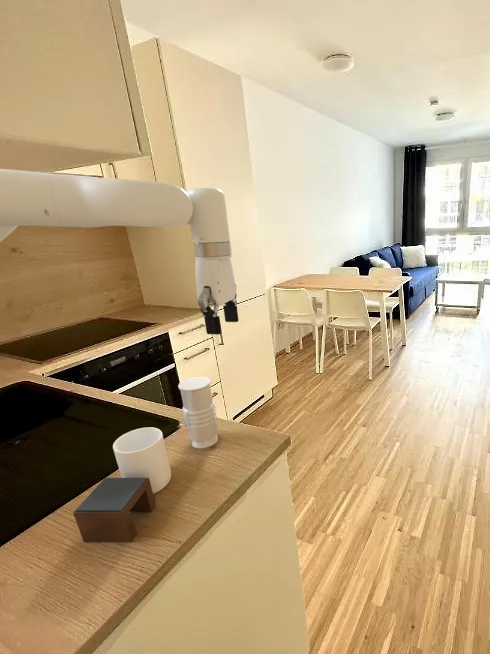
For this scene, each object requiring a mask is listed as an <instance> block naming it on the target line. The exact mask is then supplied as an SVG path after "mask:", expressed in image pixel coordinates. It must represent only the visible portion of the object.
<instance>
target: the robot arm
mask: <svg viewBox="0 0 490 654" xmlns="http://www.w3.org/2000/svg"><path fill="white" fill-rule="evenodd" d="M185 225H189V226H190V233H191V237H192V238H191V239H192V244H193V251H194V257H195V265H194V266H195V269H194V270H195V283H196V285H195V286H196V294H197V304H198V306H199V308H200V309H199V310H200V312H201V313H202V317H203V319H204V325H205V332H206V334H207V335H216V336H217V335H219V336H220V335H222V325H221V317H220V315H218V314H219V309H220V307H221V306H223V307H222V308H223V316H224V321H225V322H226V323H237V322H238V323H239V313H238V306H237V305H238V301H237V297H238V294H237V284H236V281H235V275H234V269H233V265H232V261H231V259H232V258H233V253H232V246H231V245H232V244H231V235H230V229H229V228H230V227H229V221H228V213H227V203H226V197H225V193H224V192H223V190H221V189H220V188H216V187H202V186H201V187H192V188H188V189H187V190H185V189H183V188H182V187H180V186H179V185H176V184H173V183H171V182H162V181H150V180H139V179H125V178H111V177H97V176H91V175H81V174H80V175H77V174H67V173H66V174H65V173H54V172H53V173H52V172H43V171H30V170H20V169H8V168H0V243H1V242H3V241H4V240H5V239H6V238H7V237H8V236H10V235H11V234H13V232H14V231H15V230H16V229H17V228H18V227H19V226H21V227H22V226H25V227H26V226H27V227H58V228H59V227H61V228H91V229H92V228H102V227H113V226H114V227H147V228H148V227H149V228H150V227H151V228H153V227H154V228H171V229H172V228H174V229H175V228H181V227H183V226H185Z"/></svg>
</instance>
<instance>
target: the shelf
mask: <svg viewBox="0 0 490 654" xmlns="http://www.w3.org/2000/svg"><path fill="white" fill-rule="evenodd" d="M154 495H155V494H153V491H152V488H151V484H150V480H149V478H122V477H104V478H103V480H101V481H100V482H99V484H98V485H97V486H96V487H95V488H94V489H93V490H92V491H91V492H90V493H89V494H88V496H87V497H86V498H85V499H84V500H83V501H82V502H81V503H80V504H79V505H78V506H77V507H76V508H75V510H74V511H72V514H73V517H74V519H75V523H76V526H77V527H78V530H79V533H80V536H81V539H82V541H83V543H132V542H133V541H134V539H135V538H136V536H137V534H138V533H137V530H136V526H135V523H134V520H133V516H132V513H133V512H134V513H136V512H137V513H138V512H139V513H141V512H143V513H145V512H146V513H148V512H149V513H151V512H153V510H154V509H155V508H156V506H157V502H156V500H155V496H154ZM131 512H132V513H131Z"/></svg>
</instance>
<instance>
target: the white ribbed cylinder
mask: <svg viewBox="0 0 490 654" xmlns="http://www.w3.org/2000/svg"><path fill="white" fill-rule="evenodd" d="M211 384H212V380H211V378H210V377H207V376H194V377H189V378H186V379H184V380H182V381H180V382H179V383H178V385H177V387H178V390H179V391H180V395H181V396H180V397H181V400H182V401H181V402H182V405H183V406H182V408H181V409H182V415H183V419H184V420H183V421H184V425H185V427H186V429H187V438H188V439H189V440H190V441H191V446H192V447H193V448H196V449H206V448H209V447H212V446H213V445H215V444H216V443H217V442H218V440H219V437H218V433H219V432H220V429H219V426H218V422H217V418H218V416H217V410H216V403H215V400H214V399H213V393H212V387H211Z"/></svg>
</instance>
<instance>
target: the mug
mask: <svg viewBox="0 0 490 654" xmlns="http://www.w3.org/2000/svg"><path fill="white" fill-rule="evenodd" d="M112 450H113V454H114V456H115V460H116V464H117V467H118V470H119V473H120V478H149V480H150V484H151V488H152V491H153V495H155V494H157V493H159V492H160V491H161V490H163V489H164V488H166V486H167V485H168V484H169V483H170V482H171V478H172V470H171V465H170V461H169V457H168V452H167V447H166V443H165V439H164V435H163V432H162V430H160V429H159V428H157V427H152V426H151V427H150V426H149V427H147V426H146V427H141V428H136V429H133V430H130V431H128V432H126V433H124V434H122V435H120V436H119V437H118V438H117V439H116V440H115V441H114V442H113V444H112Z"/></svg>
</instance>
